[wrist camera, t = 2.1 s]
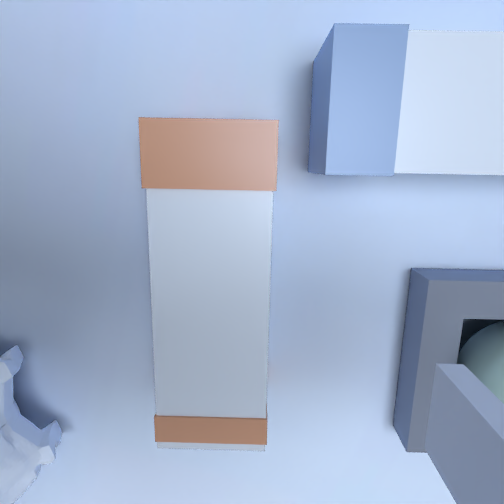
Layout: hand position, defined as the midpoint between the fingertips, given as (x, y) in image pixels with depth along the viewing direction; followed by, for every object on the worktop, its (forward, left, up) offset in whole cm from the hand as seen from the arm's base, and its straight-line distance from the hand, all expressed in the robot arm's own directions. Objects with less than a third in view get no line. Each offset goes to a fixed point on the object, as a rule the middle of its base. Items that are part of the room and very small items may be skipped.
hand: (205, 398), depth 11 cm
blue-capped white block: (+10, +9, -9) cm, 16 cm away
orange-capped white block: (0, +1, -9) cm, 9 cm away
